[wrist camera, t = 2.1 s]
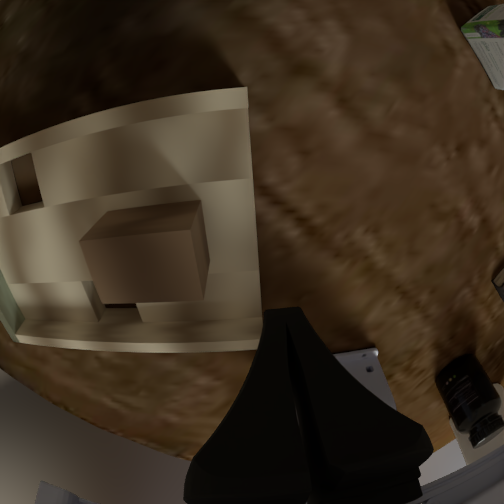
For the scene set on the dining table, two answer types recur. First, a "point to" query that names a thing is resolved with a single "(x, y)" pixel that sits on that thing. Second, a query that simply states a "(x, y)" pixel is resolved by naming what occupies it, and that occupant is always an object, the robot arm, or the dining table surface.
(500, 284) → the hardcover book
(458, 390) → the supplement bottle
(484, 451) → the white lidded jar
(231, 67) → the dining table surface
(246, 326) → the trap box
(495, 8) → the syrup box
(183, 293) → the walnut block
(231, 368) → the dining table surface
